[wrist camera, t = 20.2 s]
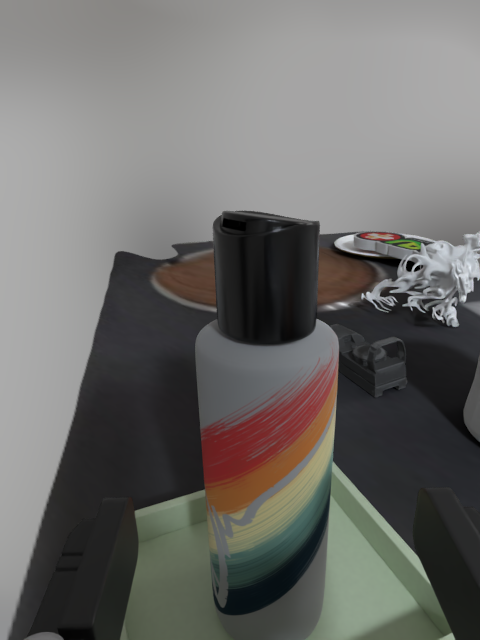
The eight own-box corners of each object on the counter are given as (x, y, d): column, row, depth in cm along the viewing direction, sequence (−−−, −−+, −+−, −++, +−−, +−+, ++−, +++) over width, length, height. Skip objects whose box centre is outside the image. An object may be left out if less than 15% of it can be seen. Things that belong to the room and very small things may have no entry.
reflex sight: (344, 346, 52) (344, 305, 50) (408, 386, 43) (411, 338, 41) (315, 354, 50) (314, 313, 49) (374, 397, 42) (376, 349, 40)
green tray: (146, 854, 16) (137, 817, 15) (103, 553, 27) (97, 521, 26) (476, 668, 21) (486, 632, 20) (323, 480, 32) (325, 452, 31)
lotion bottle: (192, 593, 24) (154, 209, 16) (270, 535, 27) (269, 193, 20) (264, 685, 20) (259, 230, 12) (346, 604, 23) (382, 206, 15)
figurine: (494, 232, 58) (492, 321, 59) (377, 240, 66) (377, 318, 67) (488, 226, 47) (486, 335, 49) (349, 237, 55) (350, 329, 57)
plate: (371, 267, 80) (372, 260, 80) (315, 243, 98) (316, 238, 98) (465, 254, 86) (466, 248, 86) (396, 234, 105) (396, 229, 104)
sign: (476, 250, 75) (433, 258, 71) (474, 261, 76) (431, 269, 72) (381, 229, 94) (343, 234, 90) (380, 238, 95) (342, 243, 90)
